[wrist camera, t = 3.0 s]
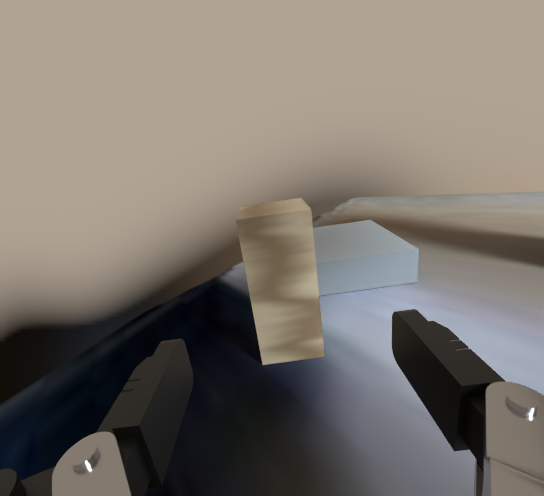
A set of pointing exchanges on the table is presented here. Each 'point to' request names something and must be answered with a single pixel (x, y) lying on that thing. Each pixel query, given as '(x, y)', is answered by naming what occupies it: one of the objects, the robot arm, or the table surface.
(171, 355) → the robot arm
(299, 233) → the beech block
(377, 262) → the base
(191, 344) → the table surface
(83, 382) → the table surface
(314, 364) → the table surface
